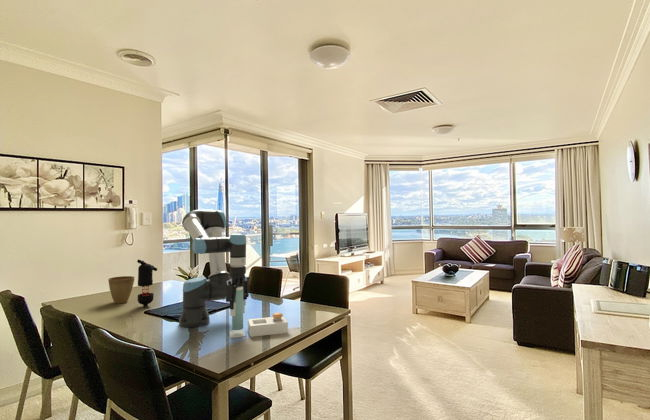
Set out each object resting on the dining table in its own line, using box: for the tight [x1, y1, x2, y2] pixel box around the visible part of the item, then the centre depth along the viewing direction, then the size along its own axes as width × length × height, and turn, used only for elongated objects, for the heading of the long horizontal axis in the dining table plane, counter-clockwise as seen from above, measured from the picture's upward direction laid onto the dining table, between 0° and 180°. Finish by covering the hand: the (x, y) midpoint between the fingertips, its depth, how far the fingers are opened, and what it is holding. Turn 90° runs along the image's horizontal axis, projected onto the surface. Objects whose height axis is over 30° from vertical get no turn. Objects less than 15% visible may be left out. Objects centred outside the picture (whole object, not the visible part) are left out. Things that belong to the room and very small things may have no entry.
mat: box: [229, 329, 246, 339], centre depth 160 cm, size 7×9×1 cm
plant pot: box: [107, 275, 135, 304], centre depth 219 cm, size 15×15×16 cm
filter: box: [136, 259, 158, 308], centre depth 210 cm, size 14×9×30 cm
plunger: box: [272, 312, 284, 322], centre depth 166 cm, size 5×5×4 cm
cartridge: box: [231, 286, 244, 331], centre depth 160 cm, size 5×5×20 cm
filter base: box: [247, 316, 289, 338], centre depth 165 cm, size 18×11×5 cm, turn 109°
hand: (237, 314), depth 160 cm, fingers closed on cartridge, 5 cm apart
